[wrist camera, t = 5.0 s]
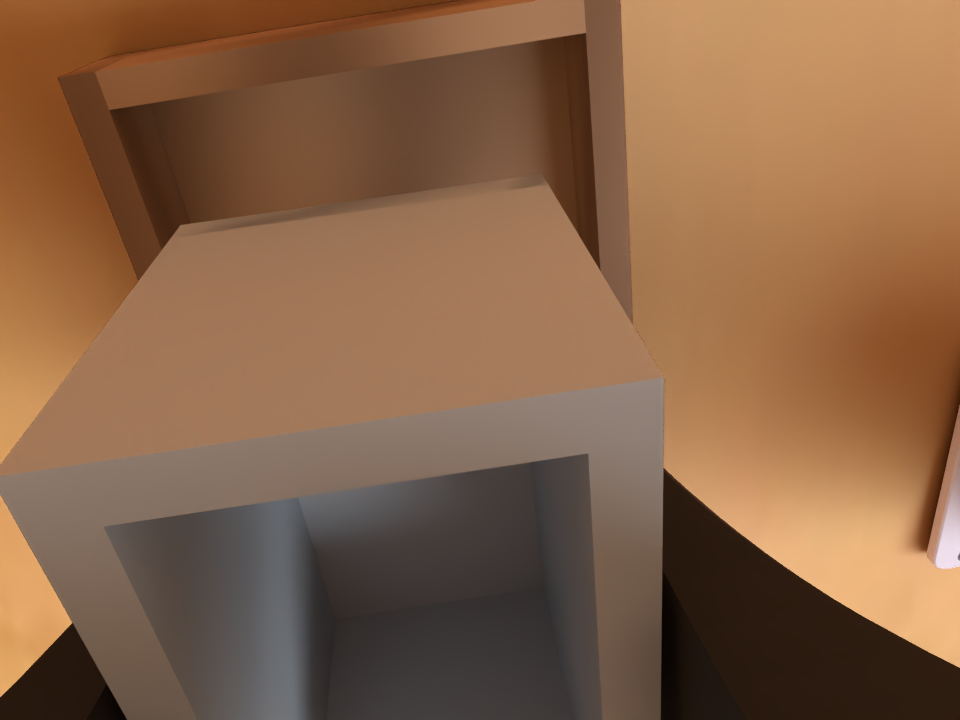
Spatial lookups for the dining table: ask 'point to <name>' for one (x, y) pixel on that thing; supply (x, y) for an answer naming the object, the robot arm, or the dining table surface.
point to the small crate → (361, 471)
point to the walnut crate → (366, 118)
